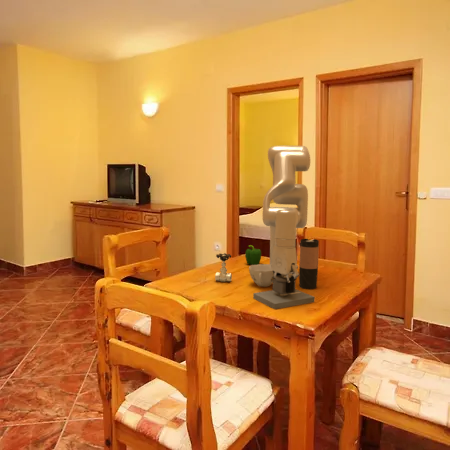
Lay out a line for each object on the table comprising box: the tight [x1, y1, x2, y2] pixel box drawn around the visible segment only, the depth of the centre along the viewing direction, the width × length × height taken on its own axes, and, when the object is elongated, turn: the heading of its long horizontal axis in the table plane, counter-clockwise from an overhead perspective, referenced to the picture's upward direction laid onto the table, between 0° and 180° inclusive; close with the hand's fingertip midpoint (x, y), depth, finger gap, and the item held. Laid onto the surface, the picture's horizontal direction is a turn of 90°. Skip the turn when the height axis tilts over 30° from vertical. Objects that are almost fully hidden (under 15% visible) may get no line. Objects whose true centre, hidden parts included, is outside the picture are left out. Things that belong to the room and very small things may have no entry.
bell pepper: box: [244, 244, 262, 266], centre depth 213 cm, size 8×8×10 cm
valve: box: [215, 252, 232, 283], centre depth 179 cm, size 7×7×12 cm
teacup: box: [248, 263, 275, 288], centre depth 174 cm, size 15×12×8 cm
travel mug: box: [298, 238, 320, 290], centre depth 172 cm, size 8×8×20 cm
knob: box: [272, 275, 296, 295], centre depth 154 cm, size 7×7×6 cm
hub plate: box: [253, 288, 315, 310], centre depth 154 cm, size 18×14×6 cm
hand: (283, 289), depth 154 cm, fingers closed on knob, 6 cm apart
